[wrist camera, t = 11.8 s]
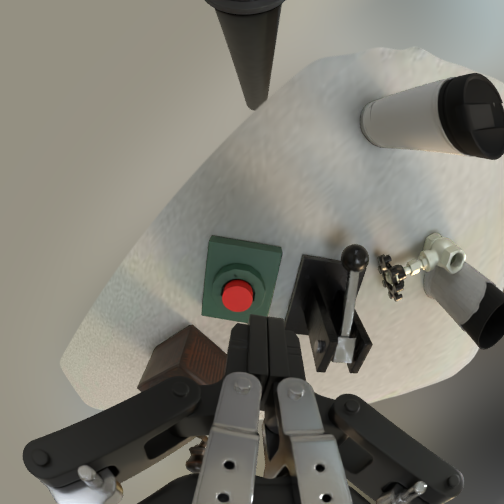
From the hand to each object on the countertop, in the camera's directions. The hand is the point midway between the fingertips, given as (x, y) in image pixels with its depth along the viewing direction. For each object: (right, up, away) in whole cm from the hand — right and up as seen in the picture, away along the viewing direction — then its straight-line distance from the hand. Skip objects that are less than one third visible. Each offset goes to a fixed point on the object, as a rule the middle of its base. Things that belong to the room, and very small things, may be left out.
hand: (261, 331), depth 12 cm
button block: (-2, 0, +25) cm, 25 cm away
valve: (+23, +3, +23) cm, 33 cm away
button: (-2, -1, +22) cm, 22 cm away
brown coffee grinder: (-9, -16, +32) cm, 36 cm away
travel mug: (+16, +20, +17) cm, 30 cm away
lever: (+10, -2, +18) cm, 20 cm away
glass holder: (+33, -1, +24) cm, 41 cm away
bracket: (+10, -3, +26) cm, 28 cm away
